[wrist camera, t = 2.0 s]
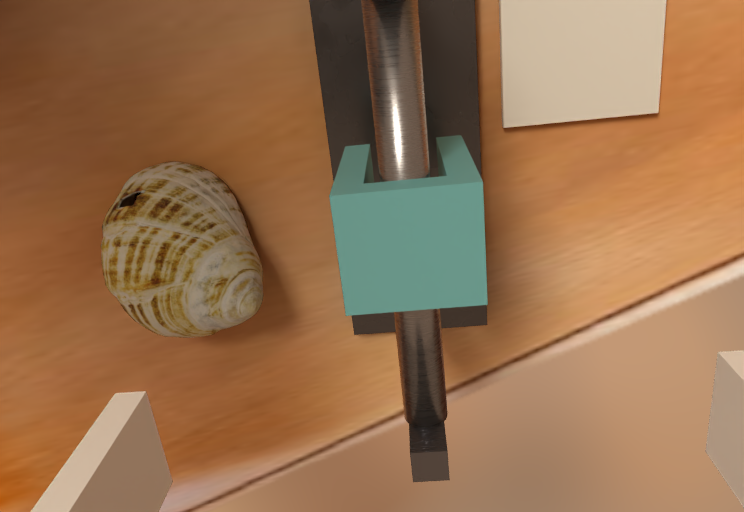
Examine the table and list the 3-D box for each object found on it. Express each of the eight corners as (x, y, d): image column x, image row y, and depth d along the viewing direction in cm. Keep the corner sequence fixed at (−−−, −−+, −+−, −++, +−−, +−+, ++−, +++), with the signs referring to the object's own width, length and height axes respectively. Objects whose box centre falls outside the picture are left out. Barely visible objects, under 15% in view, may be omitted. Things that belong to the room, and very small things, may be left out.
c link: (345, 146, 30) (329, 196, 23) (461, 135, 30) (482, 181, 22) (357, 241, 32) (345, 315, 25) (466, 232, 32) (487, 304, 24)
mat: (497, -58, 34) (499, -59, 33) (667, -78, 33) (672, -79, 32) (502, 126, 38) (503, 127, 37) (654, 110, 37) (658, 112, 36)
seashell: (109, 140, 38) (126, 201, 30) (258, 168, 43) (307, 226, 35) (84, 285, 41) (94, 374, 34) (225, 295, 46) (262, 375, 38)
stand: (304, -55, 34) (231, -94, 19) (468, -75, 33) (531, -132, 18) (355, 326, 43) (333, 507, 28) (484, 316, 43) (534, 496, 27)
